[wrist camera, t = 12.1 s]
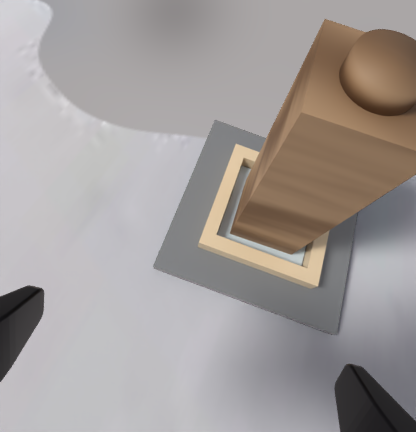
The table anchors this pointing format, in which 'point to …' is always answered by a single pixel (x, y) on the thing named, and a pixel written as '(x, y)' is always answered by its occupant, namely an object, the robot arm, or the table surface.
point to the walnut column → (334, 138)
